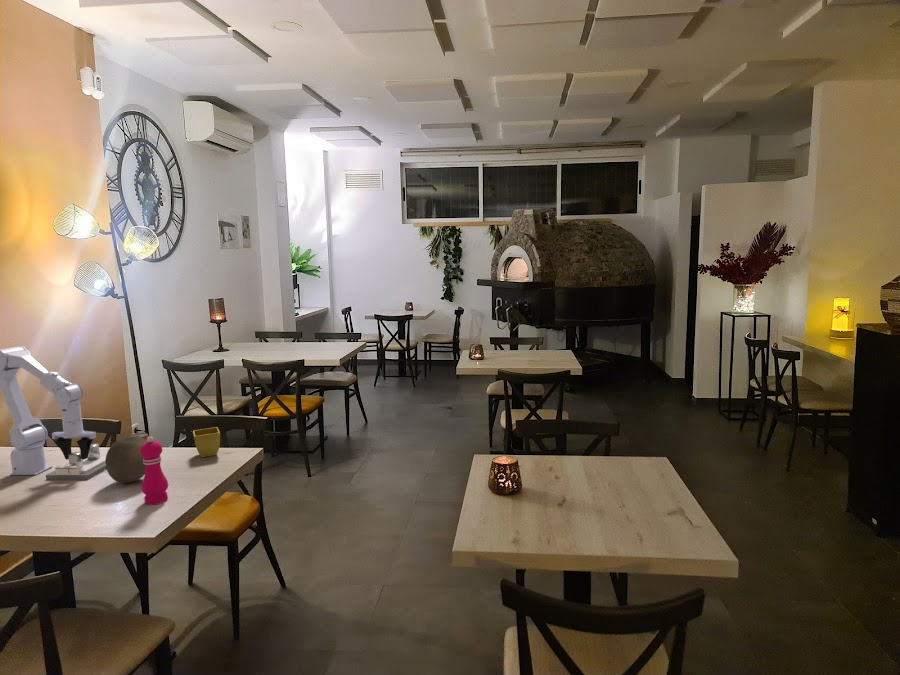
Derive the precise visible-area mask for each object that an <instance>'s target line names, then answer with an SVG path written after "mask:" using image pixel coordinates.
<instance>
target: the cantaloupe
mask: <svg viewBox="0 0 900 675" xmlns="http://www.w3.org/2000/svg"><path fill="white" fill-rule="evenodd" d="M146 442H147V440H145V439H143V438H141V437H139V436H131V435H128V436H124V437H121V438H120V439H117V440H115V441H114V442H113V443H112V444H111V446H110V447H109V448H108V450H107V453H106V455H105V457H106V460H105V461H106V468H107V469H106V471H107V474H108V475H109V476H110V478H111V479H112V480H114V481H116V482H117V483H120V484H131V483H134V482H136V481H138V480H140V479H141V478H142V477H144V476H145V464H143V457H142V456H141V454H140V448H141V446H142V445H143V444H144V443H146Z"/></svg>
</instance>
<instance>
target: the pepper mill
mask: <svg viewBox="0 0 900 675" xmlns="http://www.w3.org/2000/svg"><path fill="white" fill-rule="evenodd" d="M162 453H163V446H162V444H161V443H160V442H159V441H157V440H154V437H153V436H149V437H148V438H147V442H146V443H144V444H143V445H142V446H141V448H140V454H141V456H142V457H143V464H145V475H144V476H143V477H144V478H143V479H142V482H141V492H142V493H143V494H144V495H145V496H144V497H143V499H144V504H146V505H150V504H152V505H159V504H161V502H162V503H164V502H166V501H167V500H168V497H169V496H168V492H167V491H166V490H168V487H169V483H168V482H169V481H168V480H167V479H168V478H167V477H166V476H165V473H164V472H163V470H162V467H161V462H162V456H161V454H162ZM163 501H164V502H163ZM158 503H159V504H158Z"/></svg>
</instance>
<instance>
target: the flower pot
mask: <svg viewBox="0 0 900 675" xmlns="http://www.w3.org/2000/svg"><path fill="white" fill-rule="evenodd" d="M192 434H193V439H194V444H195V447H196V450H197V453H198V455H199V456H200V457H201V458H205V457H206V456H207V457H212V455H213V456H216V455H217V454H218V452H219V450H220V445H221V432H220V430H219V428H218V427H217V426H216V427H215V426H214V427H209V428H203V429H202V428H201V429H195V430H193V431H192Z"/></svg>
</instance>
